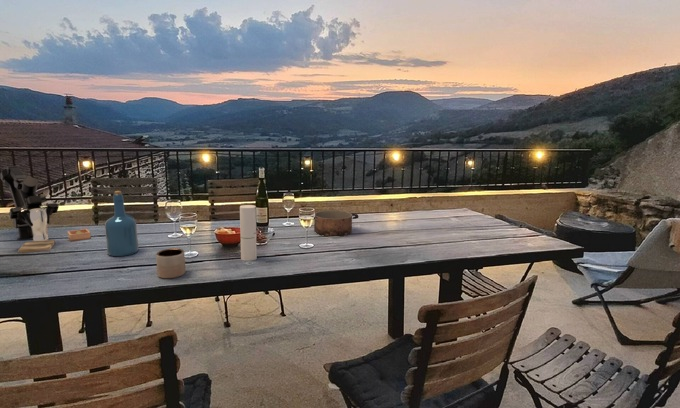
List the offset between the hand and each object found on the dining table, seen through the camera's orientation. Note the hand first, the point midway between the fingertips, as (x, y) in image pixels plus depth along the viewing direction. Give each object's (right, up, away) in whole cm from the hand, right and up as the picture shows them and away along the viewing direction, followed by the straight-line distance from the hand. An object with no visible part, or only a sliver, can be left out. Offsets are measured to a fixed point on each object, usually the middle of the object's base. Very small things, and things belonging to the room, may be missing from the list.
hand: (39, 224), depth 189 cm
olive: (+5, -6, +21) cm, 22 cm away
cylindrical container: (+101, -16, -4) cm, 103 cm away
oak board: (-4, -11, +4) cm, 13 cm away
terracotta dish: (+5, -8, +21) cm, 23 cm away
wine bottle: (+40, -14, 0) cm, 42 cm away
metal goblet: (-1, -7, +2) cm, 8 cm away
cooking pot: (+140, -7, +46) cm, 148 cm away
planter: (+74, -19, -25) cm, 81 cm away
